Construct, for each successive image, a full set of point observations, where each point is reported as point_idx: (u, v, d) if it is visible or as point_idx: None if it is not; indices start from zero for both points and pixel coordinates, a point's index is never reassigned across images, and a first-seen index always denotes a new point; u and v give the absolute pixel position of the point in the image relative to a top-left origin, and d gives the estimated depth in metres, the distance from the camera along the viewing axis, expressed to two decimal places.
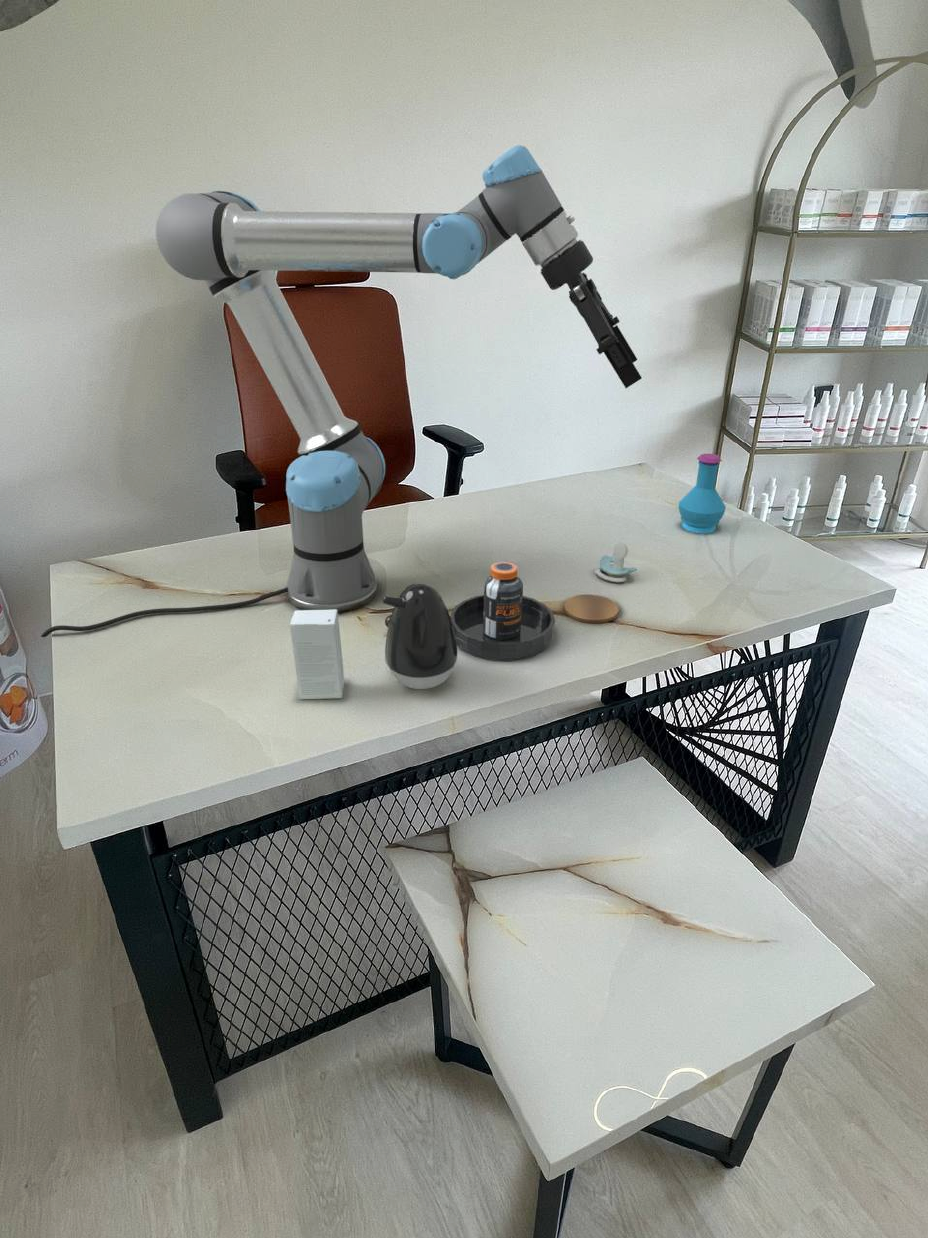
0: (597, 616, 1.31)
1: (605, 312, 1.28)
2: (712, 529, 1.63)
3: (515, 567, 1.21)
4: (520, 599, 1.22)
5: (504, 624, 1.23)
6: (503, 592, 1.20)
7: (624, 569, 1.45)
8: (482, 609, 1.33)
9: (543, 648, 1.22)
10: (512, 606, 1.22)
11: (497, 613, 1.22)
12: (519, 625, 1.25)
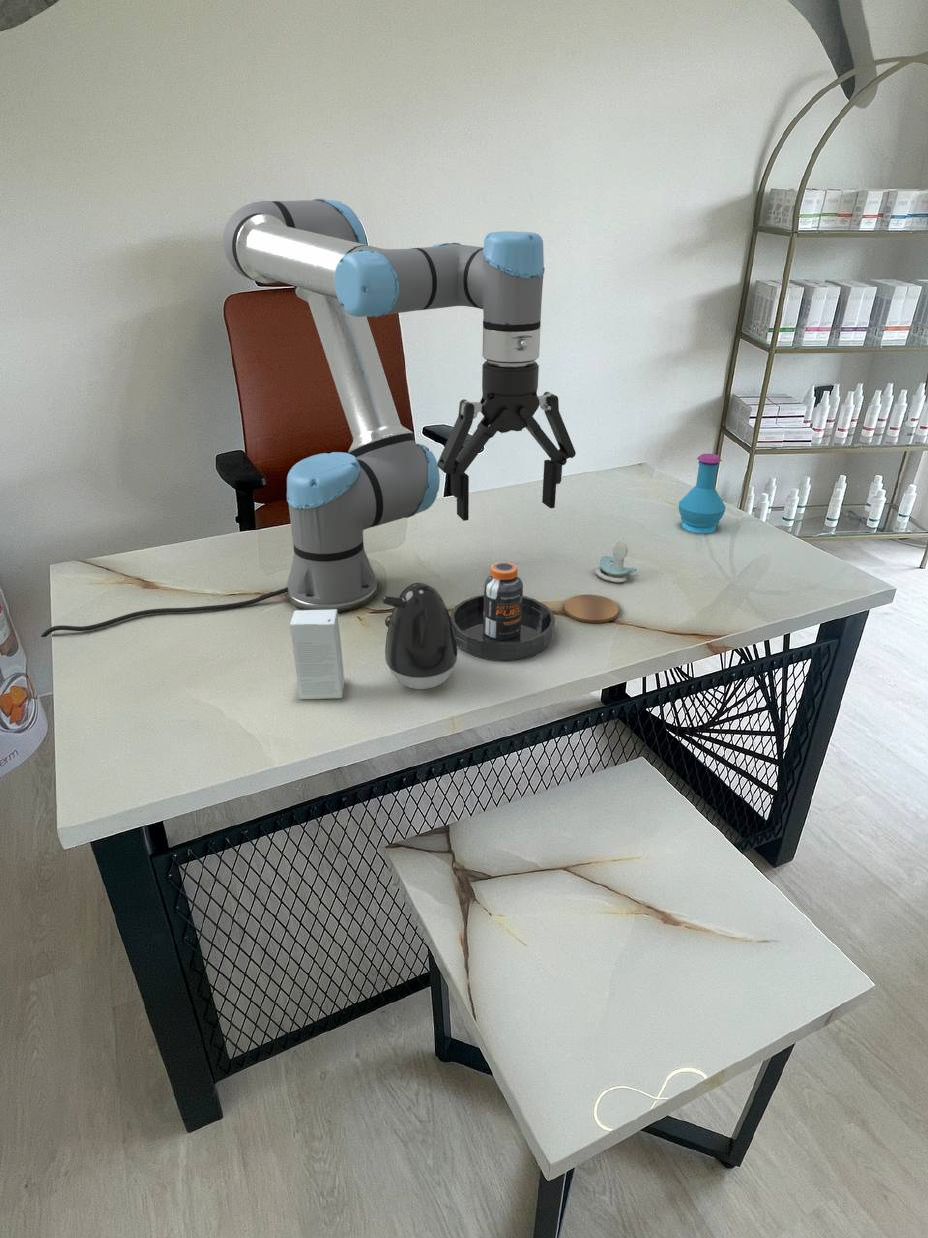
0: (597, 616, 1.31)
1: (543, 445, 1.13)
2: (712, 529, 1.63)
3: (515, 567, 1.21)
4: (520, 599, 1.22)
5: (504, 624, 1.23)
6: (503, 592, 1.20)
7: (624, 569, 1.45)
8: (482, 609, 1.33)
9: (543, 648, 1.22)
10: (512, 606, 1.22)
11: (497, 613, 1.22)
12: (519, 625, 1.25)
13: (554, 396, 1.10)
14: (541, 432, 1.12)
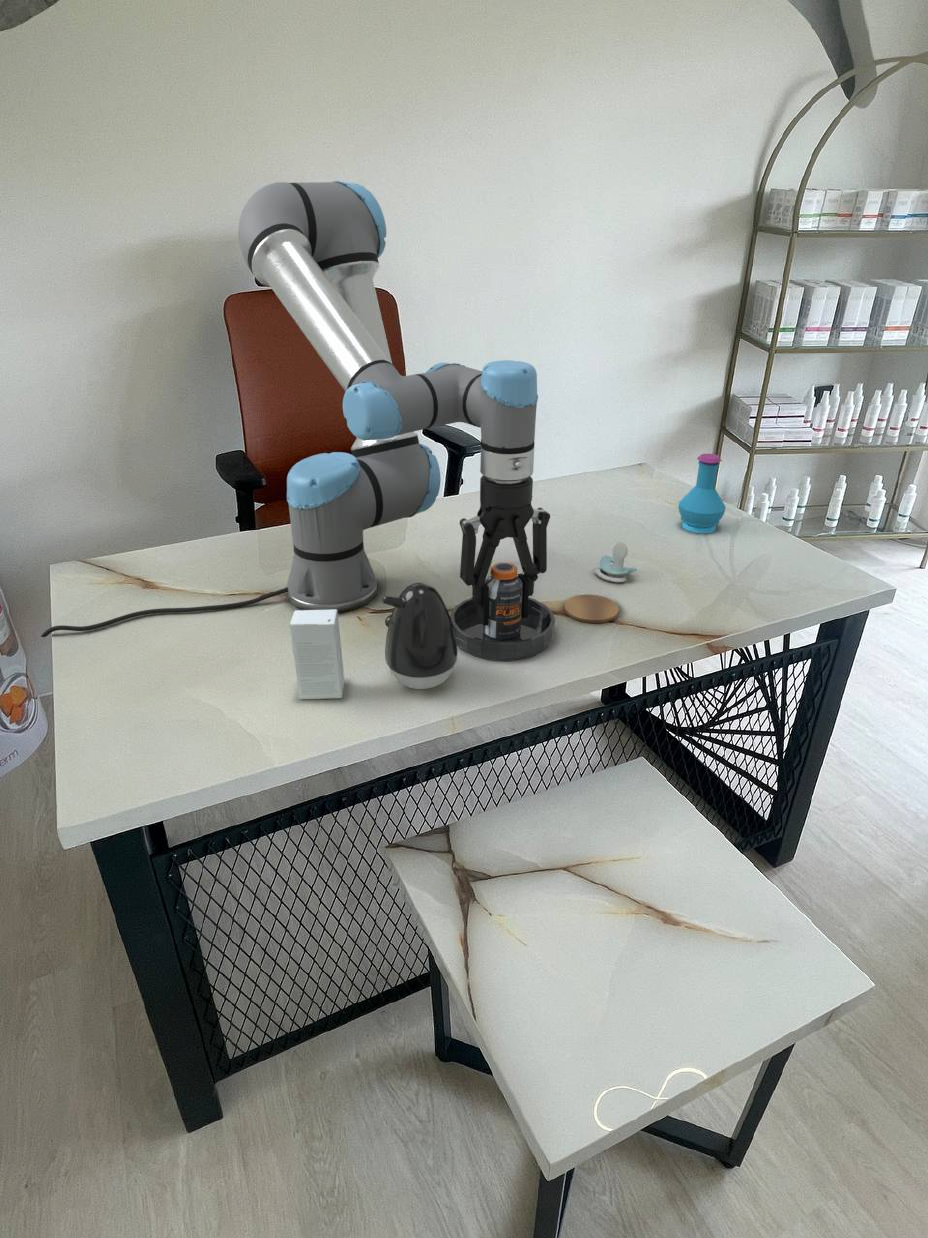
0: (597, 616, 1.31)
1: (522, 557, 1.21)
2: (712, 529, 1.63)
3: (515, 567, 1.21)
4: (520, 599, 1.22)
5: (504, 624, 1.23)
6: (503, 592, 1.20)
7: (624, 569, 1.45)
8: None
9: (543, 648, 1.22)
10: (512, 606, 1.22)
11: (497, 613, 1.22)
12: (519, 625, 1.25)
13: (547, 513, 1.18)
14: (525, 545, 1.19)
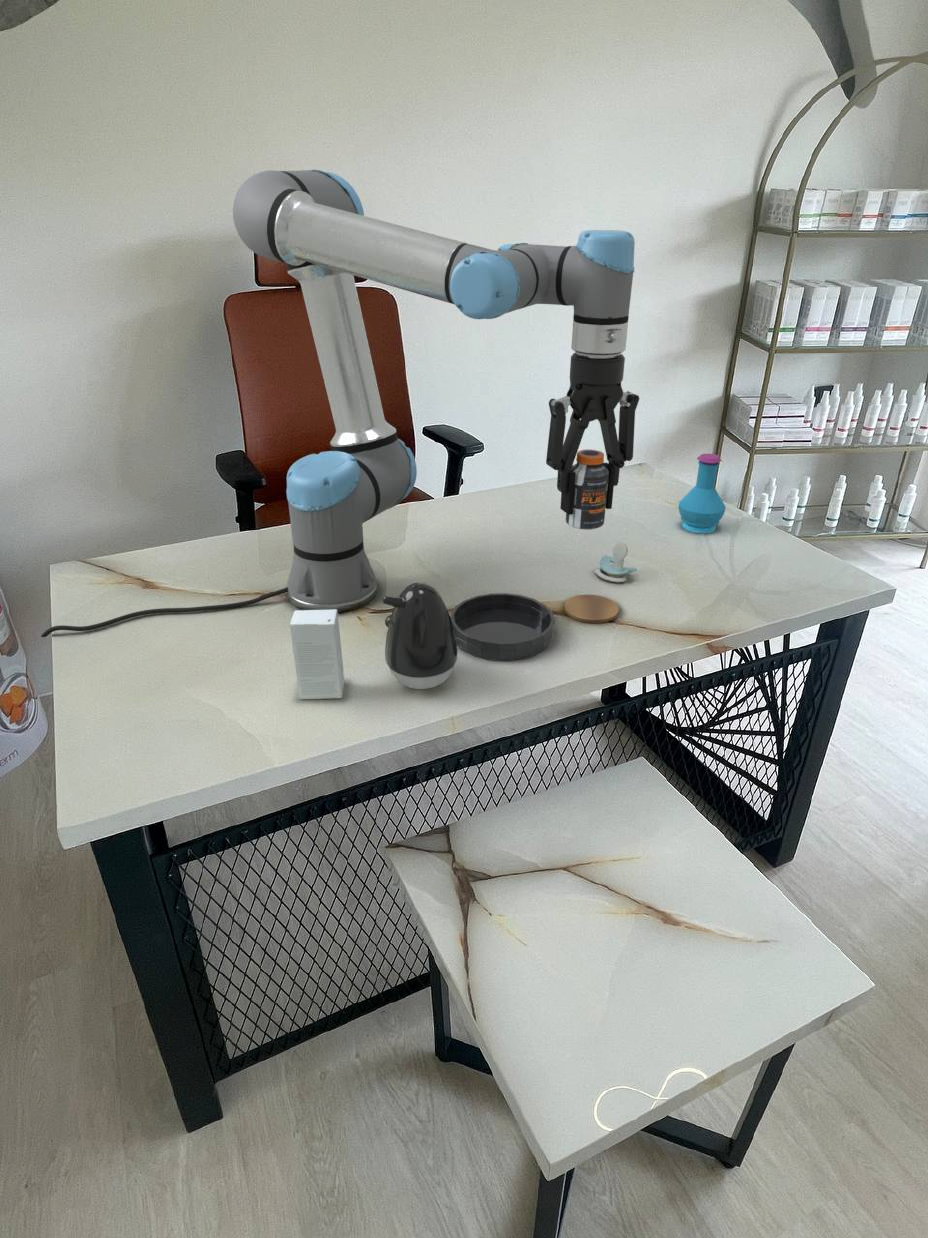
0: (597, 616, 1.31)
1: (609, 442, 1.18)
2: (712, 529, 1.63)
3: (602, 453, 1.19)
4: (606, 486, 1.20)
5: (589, 512, 1.21)
6: (591, 477, 1.18)
7: (624, 569, 1.45)
8: (482, 609, 1.33)
9: (543, 648, 1.22)
10: (599, 493, 1.20)
11: (583, 501, 1.20)
12: (603, 515, 1.23)
13: (637, 396, 1.16)
14: (613, 429, 1.17)
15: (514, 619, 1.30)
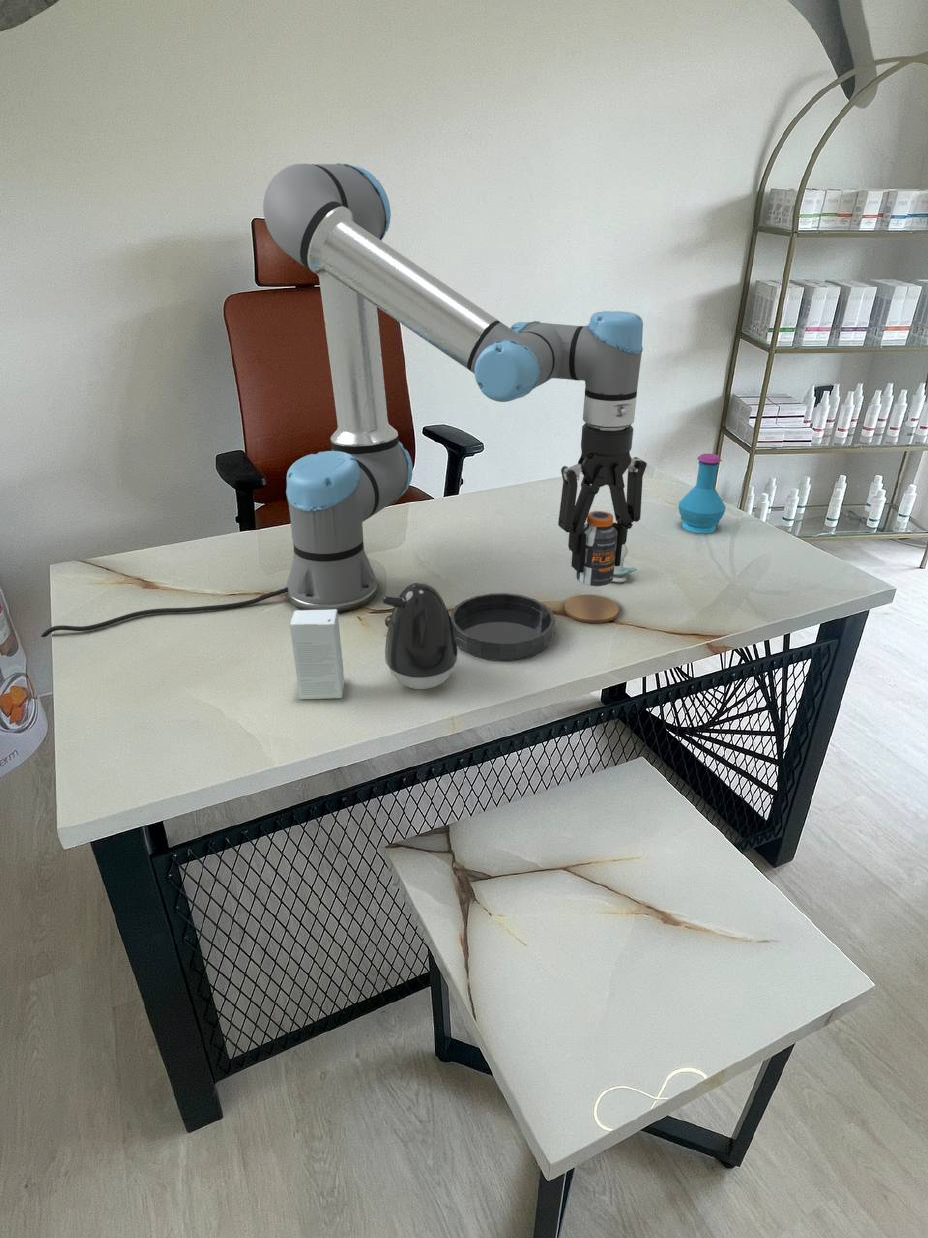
0: (597, 616, 1.31)
1: (618, 505, 1.25)
2: (712, 529, 1.63)
3: (611, 515, 1.25)
4: (615, 546, 1.27)
5: (599, 570, 1.27)
6: (600, 539, 1.24)
7: (624, 569, 1.45)
8: (482, 609, 1.33)
9: (543, 648, 1.22)
10: (608, 553, 1.26)
11: (593, 560, 1.26)
12: (612, 572, 1.29)
13: (644, 462, 1.23)
14: (622, 493, 1.24)
15: (514, 619, 1.30)
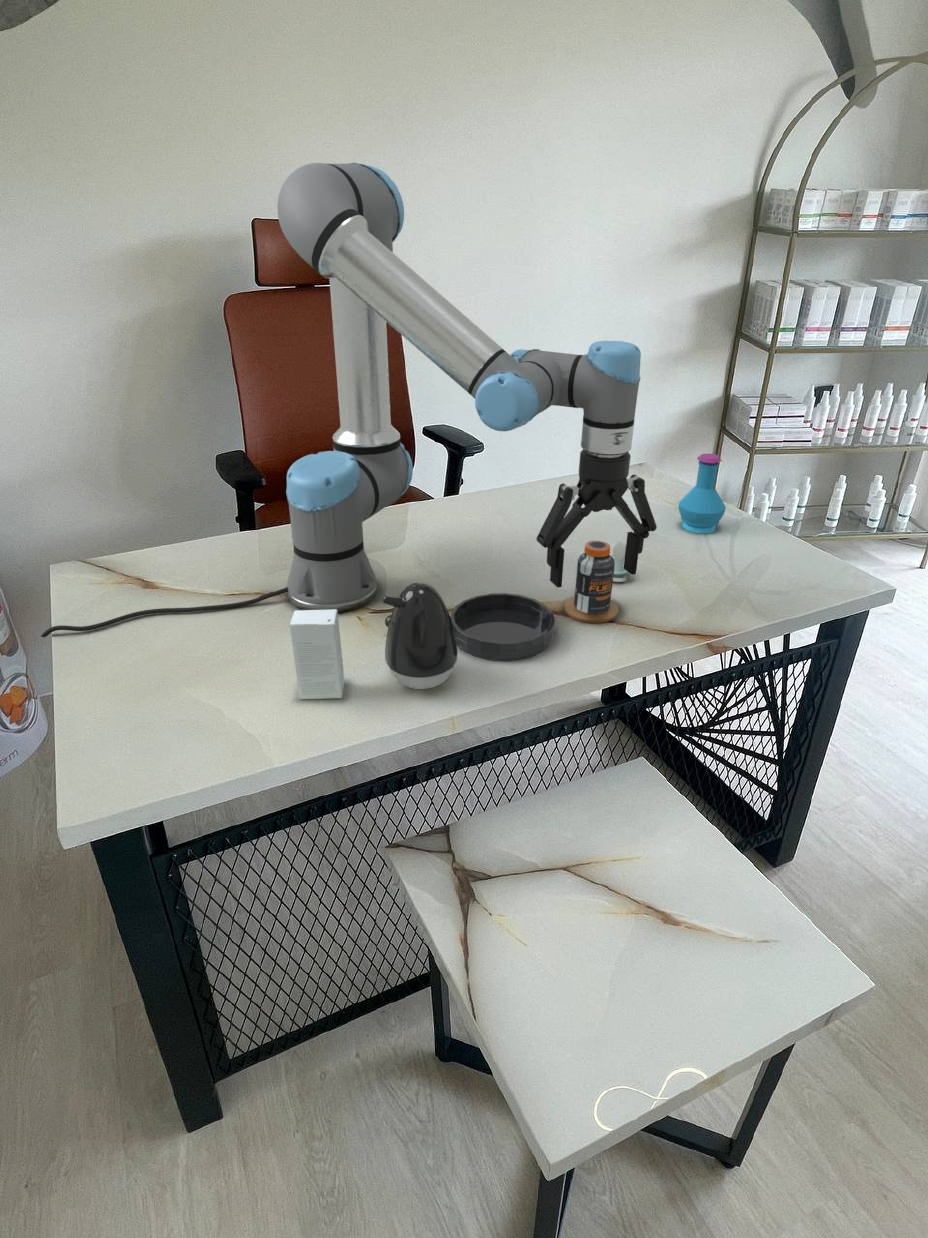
0: (597, 616, 1.31)
1: (629, 521, 1.27)
2: (712, 529, 1.63)
3: (608, 545, 1.28)
4: (612, 575, 1.29)
5: (596, 599, 1.29)
6: (598, 568, 1.27)
7: (624, 569, 1.45)
8: (482, 609, 1.33)
9: (543, 648, 1.22)
10: (605, 582, 1.28)
11: (591, 589, 1.29)
12: (609, 601, 1.31)
13: (641, 480, 1.24)
14: (628, 510, 1.26)
15: (514, 619, 1.30)
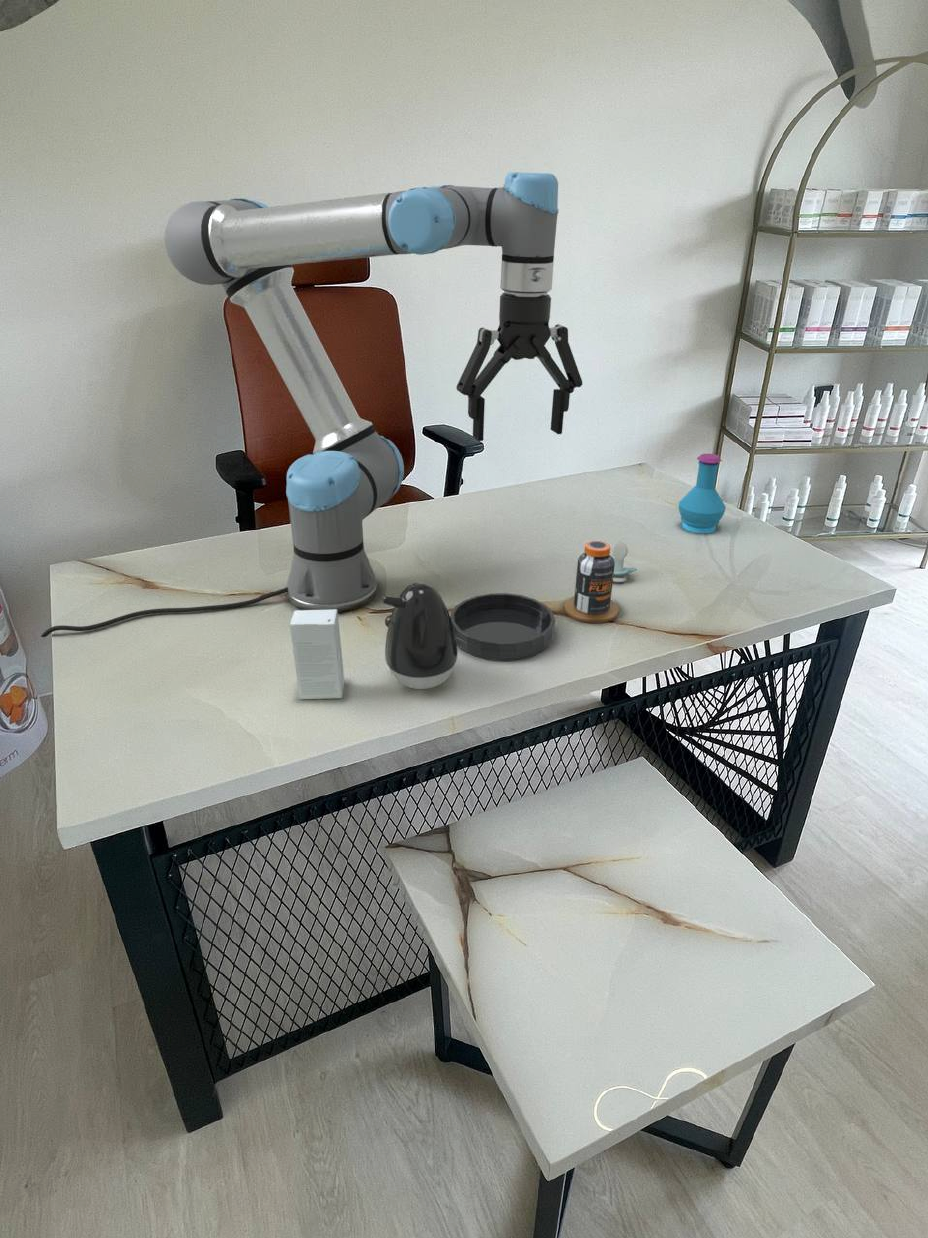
0: (597, 616, 1.31)
1: (553, 373, 1.24)
2: (712, 529, 1.63)
3: (608, 545, 1.28)
4: (612, 575, 1.29)
5: (596, 599, 1.29)
6: (598, 568, 1.27)
7: (624, 569, 1.45)
8: (482, 609, 1.33)
9: (543, 648, 1.22)
10: (605, 582, 1.28)
11: (591, 589, 1.29)
12: (609, 601, 1.31)
13: (564, 327, 1.21)
14: (551, 361, 1.23)
15: (514, 619, 1.30)
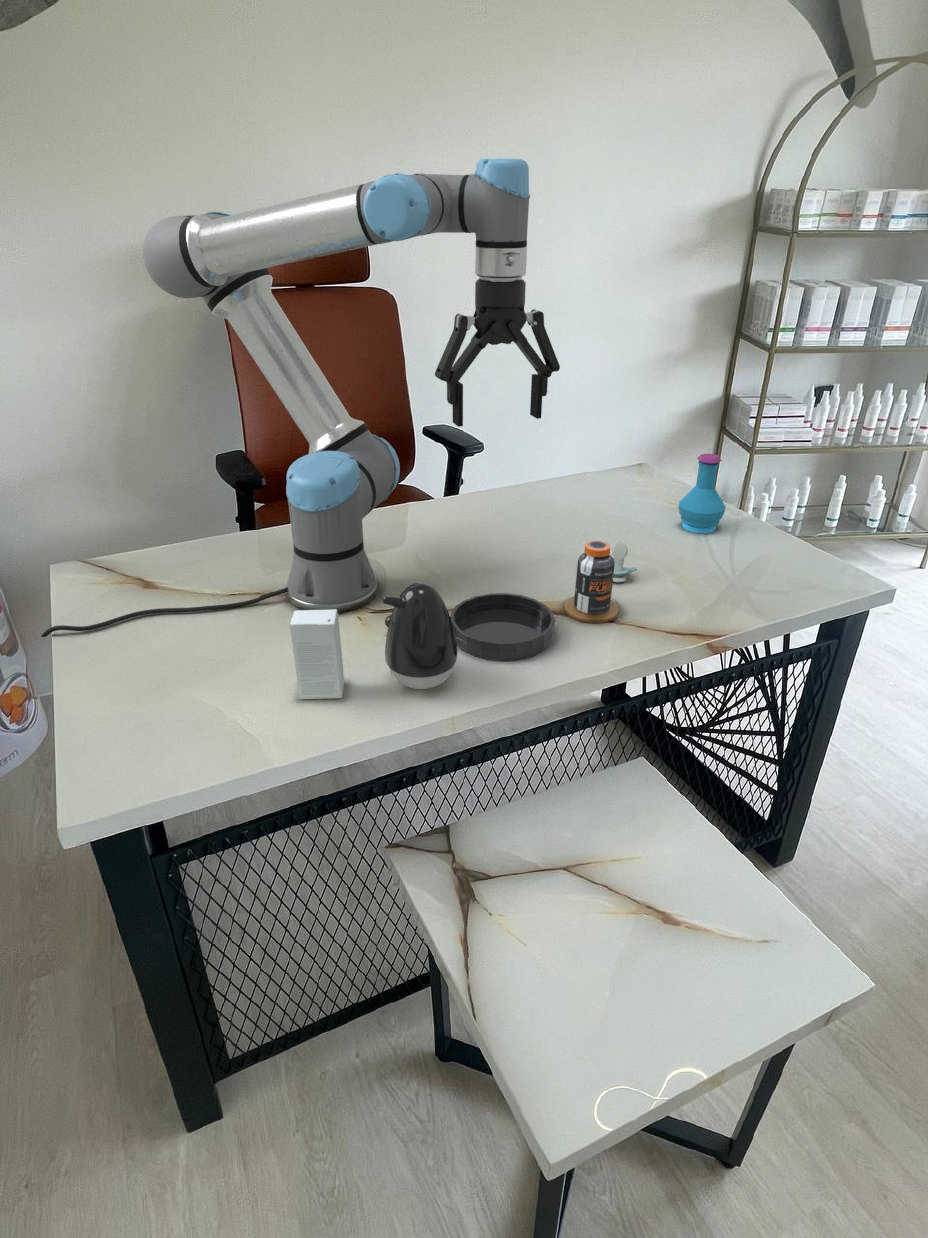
0: (597, 616, 1.31)
1: (530, 358, 1.26)
2: (712, 529, 1.63)
3: (608, 545, 1.28)
4: (612, 575, 1.29)
5: (596, 599, 1.29)
6: (598, 568, 1.27)
7: (624, 569, 1.45)
8: (482, 609, 1.33)
9: (543, 648, 1.22)
10: (605, 582, 1.28)
11: (591, 589, 1.29)
12: (609, 601, 1.31)
13: (540, 312, 1.22)
14: (528, 345, 1.24)
15: (514, 619, 1.30)
